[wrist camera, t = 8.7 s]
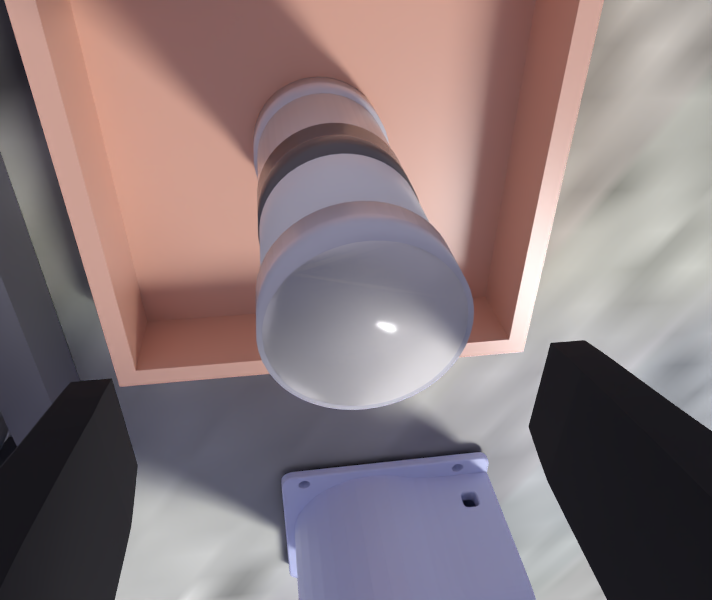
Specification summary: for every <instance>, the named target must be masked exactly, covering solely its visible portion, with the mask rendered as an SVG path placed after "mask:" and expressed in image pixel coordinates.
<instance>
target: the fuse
mask: <svg viewBox="0 0 712 600" xmlns="http://www.w3.org/2000/svg"><path fill="white" fill-rule="evenodd" d="M10 434H11V433H10V431H9V429H8V427H7V425H6V422H5V420H4V418H3V416H2V414H1V412H0V450H1V448H2V445H3V443H4V442H5V441H6V440H7V439H8V437H9V436H10Z"/></svg>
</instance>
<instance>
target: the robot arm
mask: <svg viewBox="0 0 712 600" xmlns="http://www.w3.org/2000/svg"><path fill="white" fill-rule="evenodd" d="M529 429H530V432H531V435H532V438H533V441H534V444H535V447H536V450H537V453H538V456H539V459H540V462H541V465H542V467H543V470H544V473H545V475H546V478H547V481H548V483H549V485H550V487H551V489H552V491H553V493H554V495H555V497H556V499H557V501H558V503H559V505H560V507H561V509H562V511H563V513H564V515H565V517H566V519H567V521H568V523H569V525H570V527H571V529H572V531H573V533H574V535H575V537H576V539H577V541H578V543H579V545H580V547H581V549H582V551H583V553H584V555H585V557H586V559H587V561H588V563H589V565H590V567H591V569H592V571H593V573H594V575H595V577H596V579H597V581H598V583H599V585H600V586H601V588H602V590H603V592H604V594H605V596H606V598H607V600H712V431H711V430H709V429H708V428H707V427H705V426H704V425H702V424H701V423H699V422H698V421H697V420H695V419H694V418H692V417H691V416H689V415H688V414H687V413H685V412H684V411H682V410H681V409H680V408H678V407H677V406H675V405H674V404H673V403H671V402H670V401H668V400H667V399H666V398H664V397H663V396H662V395H660V394H659V393H657V392H656V391H655V390H653V389H652V388H651V387H649V386H648V385H647V384H645V383H644V382H642V381H641V380H640V379H638V378H637V377H636V376H634V375H633V374H632V373H630V372H629V371H627V370H626V369H625V368H623V367H622V366H621V365H619V364H618V363H616V362H615V361H614V360H612V359H611V358H610V357H608V356H607V355H605V354H604V353H603V352H601V351H600V350H598V349H597V348H595V347H594V346H592V345H591V344H589V343H588V342H586V341H585V340H582V341H570V342H558V343H551V344H550V348H549V352H548V355H547V359H546V363H545V367H544V370H543V374H542V378H541V382H540V386H539V389H538V393H537V397H536V401H535V404H534V408H533V412H532V416H531V419H530V423H529ZM488 464H489V462H488V459H487V456H486V455H485V454H484V453H482V452H474V453H465V454H456V455H446V456H437V457H428V458H418V459H409V460H400V461H390V462H381V463H372V464H363V465H353V466H344V467H335V468H325V469H316V470H307V471H297V472H290V473H287V474H285V475H284V476H283V477H282V480H281V485H282V496H283V507H284V517H285V528H286V538H287V549H288V559H289V570H290V575H291V576H293V577H295V578H297V579H298V594H299V600H536V599H535V595H534V592H533V589H532V586H531V584H530V581H529V578H528V576H527V573H526V571H525V568H524V566H523V563H522V561H521V558H520V555H519V553H518V550H517V548H516V545H515V543H514V540H513V538H512V535H511V533H510V530H509V528H508V525H507V522H506V520H505V517H504V515H503V512H502V510H501V507H500V505H499V502H498V500H497V497H496V495H495V492H494V490H493V487H492V484H491V482H490V479H489V477H488V474H487V469H488ZM137 466H138V465H137V462H136V459H135V455H134V452H133V449H132V445H131V442H130V438H129V435H128V432H127V428H126V425H125V422H124V418H123V415H122V411H121V408H120V405H119V401H118V398H117V395H116V391H115V388H114V384H113V381H112V379H101V380H89V381H76V382H70V383H69V384H68V386H67V387H66V388H65V389H64V390H63V391H62V392H61V394H60V395H59V396H58V397H57V398H56V400H55V401H54V402H53V403H52V405H51V406H50V407H49V408H48V409H47V411H46V412H45V413H44V414H43V416H42V417H41V418H40V419H39V421H38V422H37V423H36V424H35V425H34V427H33V428H32V429H31V430H30V432H29V433H28V434H27V435H26V436H25V438H24V439H23V440H22V441H21V443H20V444H19V445H18V446H17V447H16V449H15V450H14V451H13V452H12V453H11V455H10V456H9V457H8V458H7V459H6V461H5V462H4V463H3V464H2V465H1V466H0V600H115V596H116V591H117V587H118V583H119V578H120V574H121V570H122V565H123V561H124V556H125V552H126V548H127V543H128V538H129V534H130V529H131V523H132V514H133V506H134V497H135V486H136V476H137Z"/></svg>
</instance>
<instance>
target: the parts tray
mask: <svg viewBox="0 0 712 600" xmlns="http://www.w3.org/2000/svg"><path fill="white" fill-rule="evenodd" d="M4 1H5V4H6V7H7V11H8V14H9V17H10V21H11V24H12V27H13V31H14V34H15V38H16V41H17V44H18V48H19V51H20V54H21V58H22V61H23V64H24V68H25V71H26V74H27V78H28V81H29V84H30V88H31V91H32V95H33V98H34V101H35V105H36V108H37V111H38V115H39V118H40V121H41V125H42V128H43V131H44V135H45V138H46V142H47V145H48V148H49V152H50V155H51V158H52V162H53V165H54V168H55V172H56V175H57V178H58V182H59V185H60V188H61V192H62V195H63V199H64V202H65V205H66V209H67V212H68V215H69V219H70V222H71V225H72V229H73V232H74V235H75V239H76V242H77V246H78V249H79V252H80V256H81V259H82V262H83V266H84V269H85V272H86V276H87V279H88V282H89V286H90V289H91V292H92V296H93V299H94V303H95V306H96V309H97V313H98V316H99V319H100V323H101V326H102V329H103V333H104V336H105V339H106V343H107V346H108V350H109V353H110V356H111V360H112V363H113V366H114V370H115V373H116V376H117V380H118V383H119V386H120V387H124V386H136V385H147V384H159V383H170V382H182V381H193V380H205V379H216V378H228V377H239V376H251V375H262V374H270V373H269V372H268V371H267V369H266V367H265V365H264V364H263V362H262V359H261V357H260V354H259V351H258V346H257V341H256V281H257V276H258V272H259V269H260V245H259V239H258V212H257V187H258V178H257V175H256V172H255V166H254V151H253V136H254V128H255V124H256V121H257V118H258V116H259V113H260V111H261V110H262V108H263V106H264V105H265V104H266V102H267V101H268V100H269V98H270V97H271V96H273V95H274V94H275V93H276V92H277V91H278V90H280V89H281V88H282V87H284V86H286V85H288V84H289V83H291V82H294V81H297V80H299V79H303V78H308V77H329V78H335V79H338V80H341V81H344V82H346V83H348V84H350V85H352V86H353V87H355V88H356V89H358V90H359V91H360V92H361V93H362V94H363V95H365V97H366V98H367V99H368V100H369V101H370V103H371V104H372V106H373V107H374V109H375V111H376V113H377V114H378V116H379V118H380V120H381V122H382V124H383V126H384V128H385V130H386V134H387V137H388V141H389V145H390V147H391V149H392V150H393V152H394V153H395V155H396V156H397V158H398V160H399V162H400V164H401V166H402V168H403V169H404V171H405V173H406V175H407V177H408V179H409V181H410V183H411V185H412V187H413V189H414V191H415V193H416V195H417V197H418V200H419V203H420V205H421V207H422V209H423V211H424V213H425V215H426V217H427V219H428V221H429V222H430V224H432V225H433V226H434V228H435V229H436V230H437V231H438V232H439V233H440V234H441V236H442V237H443V239H444V240H445V242H446V243H447V245H448V247H449V249H450V251H451V253H452V254H453V256H454V258H455V260H456V262H457V264H458V266H459V267H460V269H461V271H462V273H463V275H464V277H465V279H466V281H467V283H468V285H469V288H470V290H471V294H472V298H473V304H474V319H473V326H472V330H471V334H470V337H469V339H468V342H467V344H466V346H465V348H464V350H463V351H462V353H461V355H460V356H459V357H470V356H482V355H493V354H505V353H516V352H523V351H524V347H525V343H526V338H527V334H528V330H529V325H530V321H531V316H532V312H533V308H534V303H535V299H536V295H537V290H538V286H539V282H540V277H541V273H542V268H543V264H544V260H545V255H546V251H547V247H548V242H549V238H550V234H551V229H552V225H553V220H554V216H555V212H556V207H557V203H558V199H559V194H560V190H561V186H562V181H563V177H564V173H565V168H566V164H567V159H568V155H569V151H570V146H571V142H572V138H573V133H574V129H575V125H576V120H577V116H578V111H579V107H580V103H581V98H582V94H583V90H584V85H585V81H586V77H587V72H588V68H589V64H590V59H591V55H592V50H593V46H594V42H595V37H596V33H597V29H598V24H599V20H600V16H601V11H602V7H603V2H604V0H4Z"/></svg>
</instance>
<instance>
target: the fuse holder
mask: <svg viewBox="0 0 712 600" xmlns="http://www.w3.org/2000/svg"><path fill="white" fill-rule="evenodd" d="M76 381H80V380H79V377H78V374H77V371H76V368H75V365H74V362H73V360H72V357H71V354H70V351H69V348H68V345H67V342H66V339H65V337H64V334H63V331H62V328H61V325H60V322H59V319H58V316H57V314H56V311H55V308H54V305H53V302H52V299H51V296H50V293H49V291H48V288H47V285H46V282H45V279H44V276H43V273H42V270H41V268H40V265H39V262H38V259H37V256H36V253H35V250H34V248H33V245H32V242H31V239H30V236H29V233H28V230H27V227H26V225H25V222H24V219H23V216H22V213H21V210H20V207H19V204H18V202H17V199H16V196H15V193H14V190H13V187H12V184H11V181H10V179H9V176H8V173H7V170H6V167H5V164H4V161H3V158H2V156H1V153H0V412H1V414H2V416H3V418H4V420H5V422H6V425H7V427H8V429H9V431H10V433H11V435H12V437H8V439H7V440H6V441H5V442H4V443H3V445H2V448H1V450H0V466H1V465H2V464H3V463H4V462H5V461H6V459H7V458H8V457H9V456H10V455H11V453H12V452H13V451H14V450H15V449H16V447H17V446H18V445H19V444H20V443H21V441H22V440H23V439H24V438H25V436H26V435H27V434H28V433H29V432H30V430H31V429H32V428H33V427H34V425H35V424H36V423H37V422H38V421H39V419H40V418H41V417H42V416H43V414H44V413H45V412H46V411H47V409H48V408H49V407H50V406H51V405H52V403H53V402H54V401H55V400H56V398H57V397H58V396H59V395H60V394H61V392H62V391H63V390H64V389H65V388H66V387H67V386H68V384H69V383H70V382H76Z"/></svg>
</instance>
